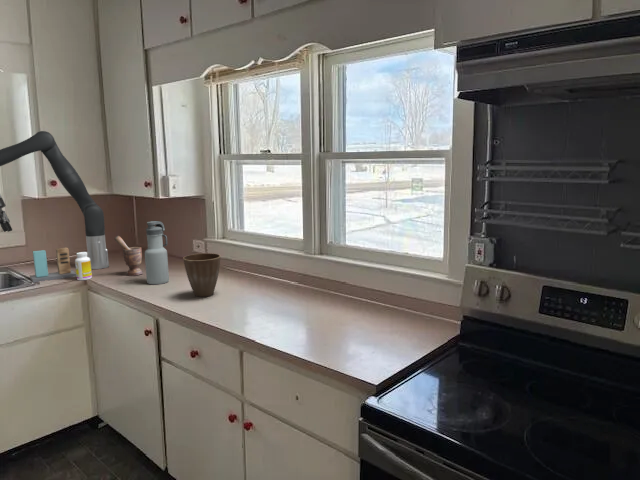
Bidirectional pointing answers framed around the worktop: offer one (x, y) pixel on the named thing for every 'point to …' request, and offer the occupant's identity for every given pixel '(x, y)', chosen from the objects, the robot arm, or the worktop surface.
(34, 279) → the key base
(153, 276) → the water bottle
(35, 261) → the teal rectangular block
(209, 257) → the plant pot
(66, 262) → the tan tall block
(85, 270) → the supplement bottle
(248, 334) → the worktop surface
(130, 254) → the mortar and pestle
